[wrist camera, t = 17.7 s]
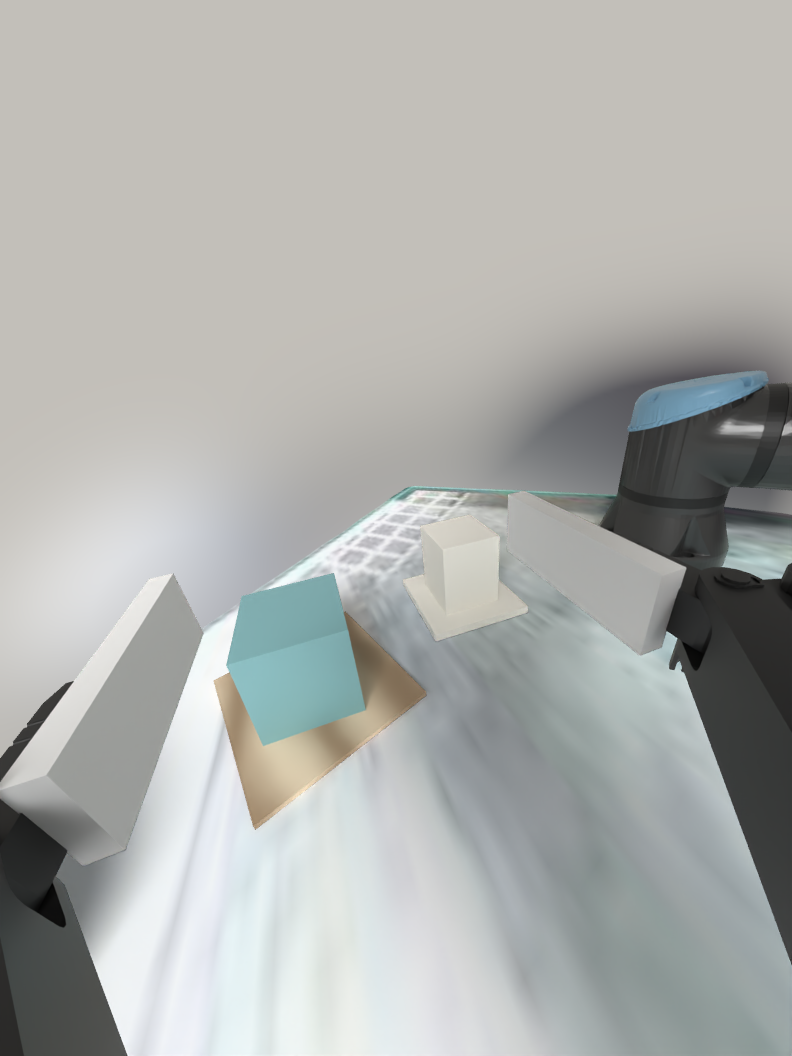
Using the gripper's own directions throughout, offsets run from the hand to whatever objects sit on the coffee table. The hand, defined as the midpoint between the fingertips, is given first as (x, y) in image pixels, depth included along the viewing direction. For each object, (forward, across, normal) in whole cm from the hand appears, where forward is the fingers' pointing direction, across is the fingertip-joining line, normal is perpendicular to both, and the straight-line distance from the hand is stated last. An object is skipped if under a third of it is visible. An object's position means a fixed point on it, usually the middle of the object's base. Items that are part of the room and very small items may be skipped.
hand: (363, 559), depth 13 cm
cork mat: (+14, -6, -21) cm, 26 cm away
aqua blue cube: (+14, -6, -21) cm, 26 cm away
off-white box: (+21, +14, -22) cm, 33 cm away
